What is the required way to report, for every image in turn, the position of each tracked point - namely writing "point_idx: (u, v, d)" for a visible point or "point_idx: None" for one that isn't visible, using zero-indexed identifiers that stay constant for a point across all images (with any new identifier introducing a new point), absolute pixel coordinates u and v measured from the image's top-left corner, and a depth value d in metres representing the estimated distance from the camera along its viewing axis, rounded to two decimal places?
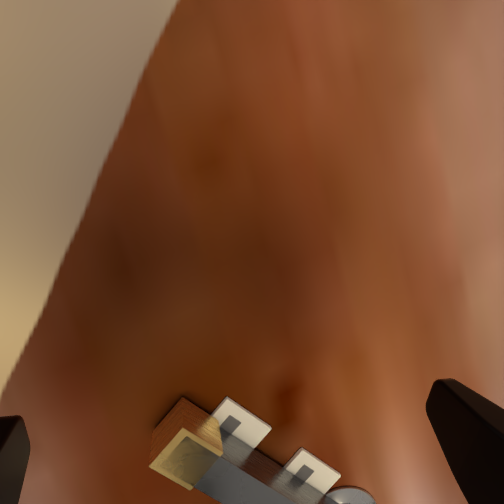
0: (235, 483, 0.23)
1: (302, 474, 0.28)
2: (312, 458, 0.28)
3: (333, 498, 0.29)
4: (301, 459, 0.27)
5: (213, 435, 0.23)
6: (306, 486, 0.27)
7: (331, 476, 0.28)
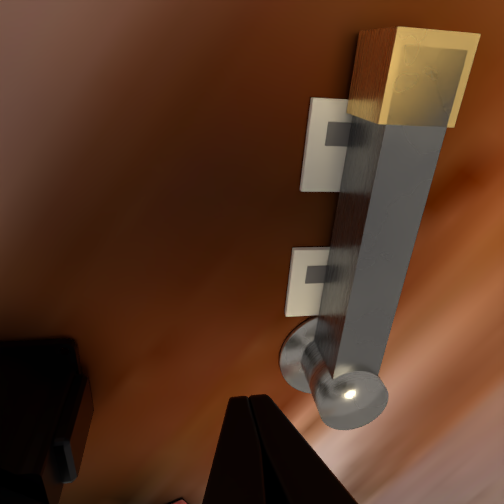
0: (410, 180, 0.15)
1: None
2: None
3: None
4: None
5: None
6: None
7: None
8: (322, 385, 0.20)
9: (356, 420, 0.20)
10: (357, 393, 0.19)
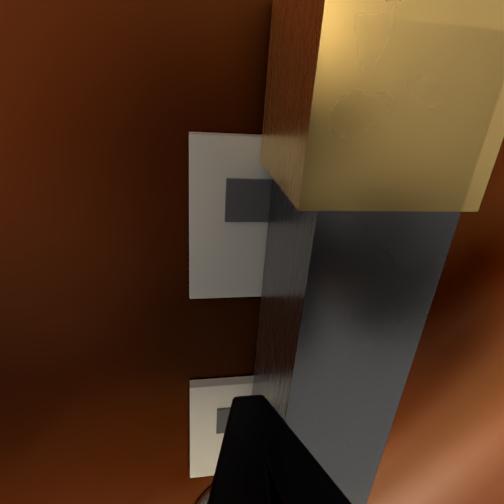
0: (381, 318, 0.07)
1: None
2: None
3: None
4: None
5: None
6: None
7: None
8: None
9: None
10: None
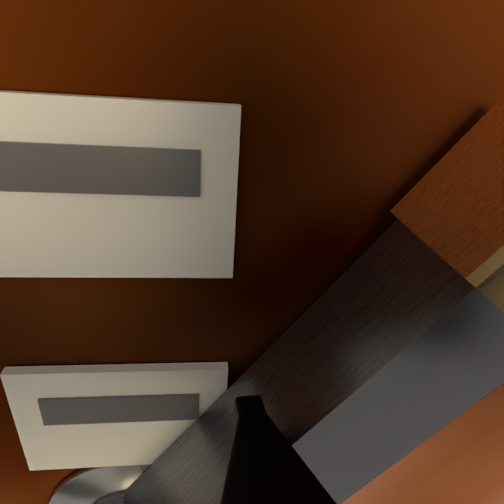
0: (435, 395, 0.08)
1: (176, 406, 0.11)
2: None
3: None
4: (205, 382, 0.11)
5: None
6: None
7: None
8: None
9: None
10: None
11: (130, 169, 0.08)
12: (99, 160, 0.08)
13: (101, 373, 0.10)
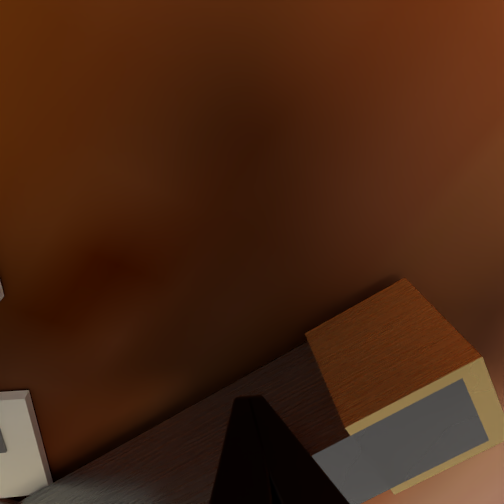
0: None
1: None
2: (28, 428, 0.11)
3: None
4: (2, 413, 0.10)
5: None
6: None
7: (31, 482, 0.12)
8: None
9: None
10: None
11: None
12: None
13: None
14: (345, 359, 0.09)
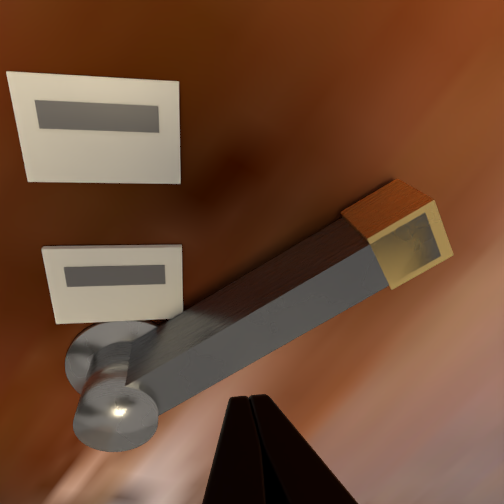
0: (340, 294, 0.17)
1: (150, 274, 0.18)
2: (179, 268, 0.18)
3: None
4: (168, 256, 0.18)
5: None
6: None
7: (174, 308, 0.19)
8: (110, 384, 0.17)
9: (100, 440, 0.18)
10: (131, 416, 0.17)
11: (120, 117, 0.15)
12: (103, 111, 0.15)
13: (103, 248, 0.17)
14: (365, 216, 0.17)
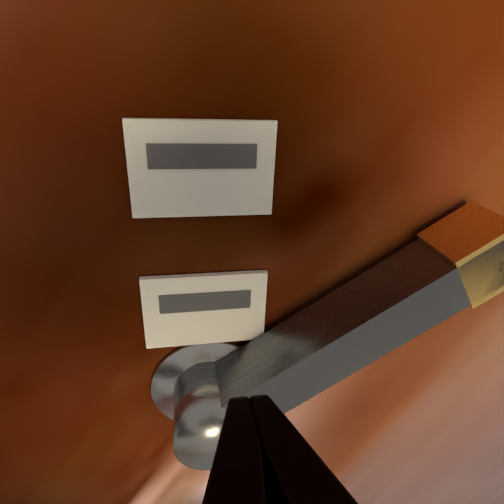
0: (425, 314, 0.17)
1: (237, 299, 0.19)
2: (264, 292, 0.19)
3: None
4: (254, 281, 0.19)
5: None
6: None
7: (255, 330, 0.20)
8: (206, 406, 0.18)
9: (196, 459, 0.18)
10: None
11: (222, 155, 0.16)
12: (206, 151, 0.16)
13: (196, 277, 0.18)
14: (446, 239, 0.18)
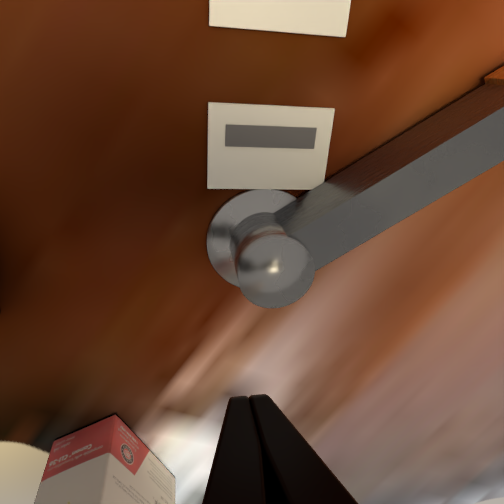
0: (498, 144, 0.17)
1: (302, 137, 0.19)
2: (329, 132, 0.19)
3: None
4: (321, 118, 0.19)
5: None
6: None
7: (316, 178, 0.20)
8: (272, 234, 0.18)
9: (259, 293, 0.18)
10: (292, 266, 0.18)
11: None
12: None
13: (264, 105, 0.18)
14: None
